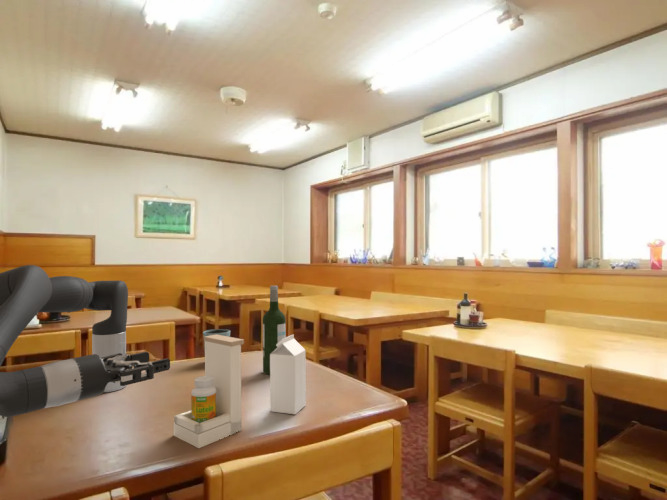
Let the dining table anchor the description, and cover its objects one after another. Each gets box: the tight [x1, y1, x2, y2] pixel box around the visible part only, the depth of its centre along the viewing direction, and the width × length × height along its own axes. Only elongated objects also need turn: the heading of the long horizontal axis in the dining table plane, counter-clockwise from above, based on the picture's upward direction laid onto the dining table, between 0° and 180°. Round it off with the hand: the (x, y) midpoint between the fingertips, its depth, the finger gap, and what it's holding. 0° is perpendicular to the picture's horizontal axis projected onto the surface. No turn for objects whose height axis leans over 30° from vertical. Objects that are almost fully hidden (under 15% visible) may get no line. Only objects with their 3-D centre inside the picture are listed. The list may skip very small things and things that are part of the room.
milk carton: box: [269, 333, 307, 415], centre depth 109 cm, size 7×7×19 cm
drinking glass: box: [202, 328, 231, 353], centre depth 158 cm, size 10×10×12 cm
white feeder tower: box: [173, 334, 245, 449], centre depth 95 cm, size 12×11×21 cm
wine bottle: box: [262, 285, 287, 376], centre depth 144 cm, size 8×8×30 cm
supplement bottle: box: [190, 375, 216, 423], centre depth 94 cm, size 5×5×10 cm
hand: (158, 359), depth 86 cm, fingers open, 8 cm apart
